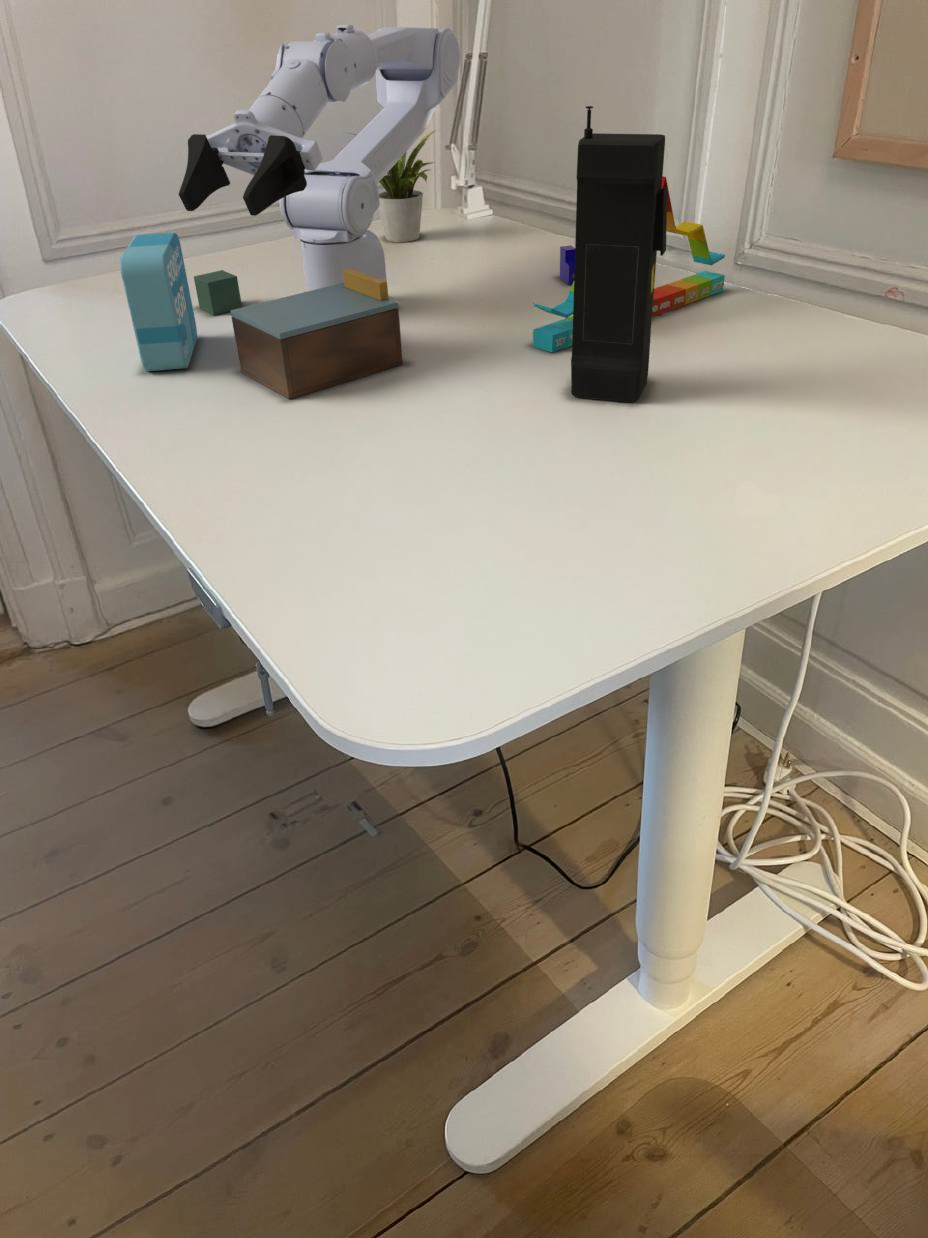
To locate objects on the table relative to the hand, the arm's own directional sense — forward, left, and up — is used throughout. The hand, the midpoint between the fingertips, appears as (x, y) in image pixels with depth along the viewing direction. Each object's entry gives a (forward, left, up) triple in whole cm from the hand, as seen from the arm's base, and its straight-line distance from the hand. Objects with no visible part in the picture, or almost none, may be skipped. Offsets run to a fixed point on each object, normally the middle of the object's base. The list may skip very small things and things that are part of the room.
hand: (216, 204), depth 95 cm
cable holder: (-50, +3, -17) cm, 53 cm away
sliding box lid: (-6, +6, -10) cm, 14 cm away
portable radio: (-24, +32, -17) cm, 43 cm away
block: (-8, -21, -17) cm, 28 cm away
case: (-6, +6, -17) cm, 19 cm away
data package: (+4, -9, -17) cm, 20 cm away
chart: (-42, +18, -17) cm, 48 cm away
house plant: (-44, -34, -17) cm, 58 cm away
